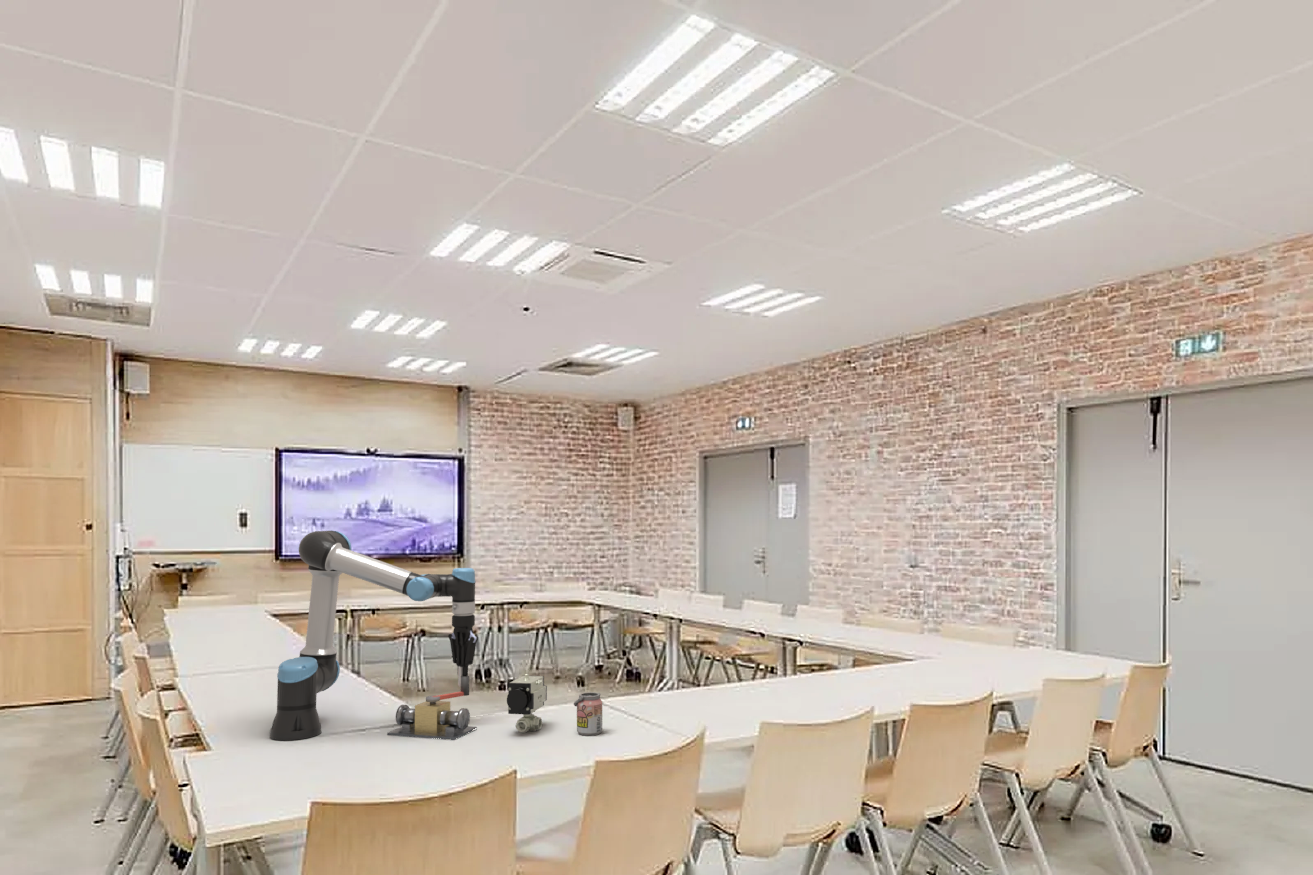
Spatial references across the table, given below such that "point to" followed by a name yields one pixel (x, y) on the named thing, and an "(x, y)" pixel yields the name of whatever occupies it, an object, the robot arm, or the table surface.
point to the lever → (463, 692)
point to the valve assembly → (432, 721)
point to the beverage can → (589, 714)
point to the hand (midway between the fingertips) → (462, 685)
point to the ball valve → (527, 701)
